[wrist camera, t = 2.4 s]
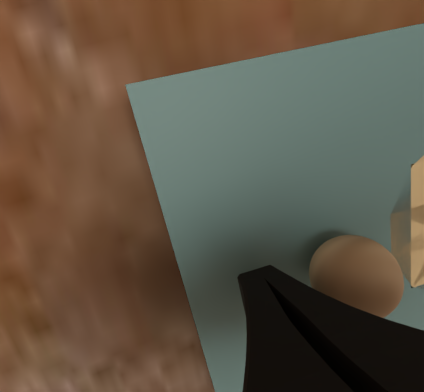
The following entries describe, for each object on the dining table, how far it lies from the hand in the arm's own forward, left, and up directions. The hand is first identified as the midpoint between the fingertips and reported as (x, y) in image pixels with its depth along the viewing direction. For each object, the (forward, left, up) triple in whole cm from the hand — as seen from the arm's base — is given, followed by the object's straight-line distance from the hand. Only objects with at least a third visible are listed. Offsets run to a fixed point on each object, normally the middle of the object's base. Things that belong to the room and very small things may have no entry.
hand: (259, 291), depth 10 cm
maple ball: (-3, 0, +1) cm, 3 cm away
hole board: (-6, 0, -3) cm, 7 cm away
